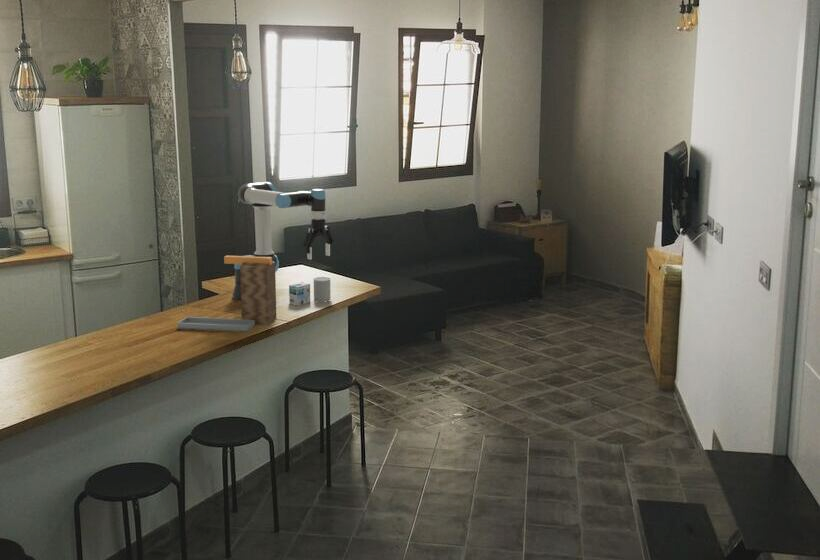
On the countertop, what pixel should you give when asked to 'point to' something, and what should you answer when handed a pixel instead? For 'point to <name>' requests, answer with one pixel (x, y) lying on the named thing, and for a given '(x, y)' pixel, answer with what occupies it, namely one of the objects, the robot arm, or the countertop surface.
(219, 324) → the tray
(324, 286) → the grey cylinder
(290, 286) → the light bulb box
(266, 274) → the brown zigzag tall box
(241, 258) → the pin
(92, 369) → the countertop surface
